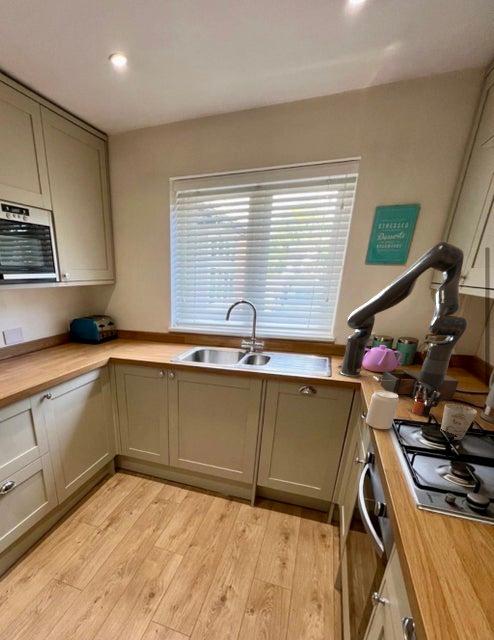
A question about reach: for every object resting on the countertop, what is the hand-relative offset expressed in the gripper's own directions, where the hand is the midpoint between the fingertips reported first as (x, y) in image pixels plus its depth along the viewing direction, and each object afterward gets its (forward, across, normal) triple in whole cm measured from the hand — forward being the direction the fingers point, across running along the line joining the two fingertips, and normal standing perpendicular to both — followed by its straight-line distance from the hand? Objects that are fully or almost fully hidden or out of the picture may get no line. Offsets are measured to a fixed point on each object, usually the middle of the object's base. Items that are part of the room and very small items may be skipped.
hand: (420, 411), depth 129 cm
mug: (+1, -18, -1) cm, 18 cm away
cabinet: (+1, +24, -14) cm, 28 cm away
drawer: (0, +24, -2) cm, 24 cm away
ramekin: (+1, 0, 0) cm, 1 cm away
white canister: (+1, -15, +22) cm, 27 cm away
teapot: (+1, +60, -9) cm, 61 cm away
